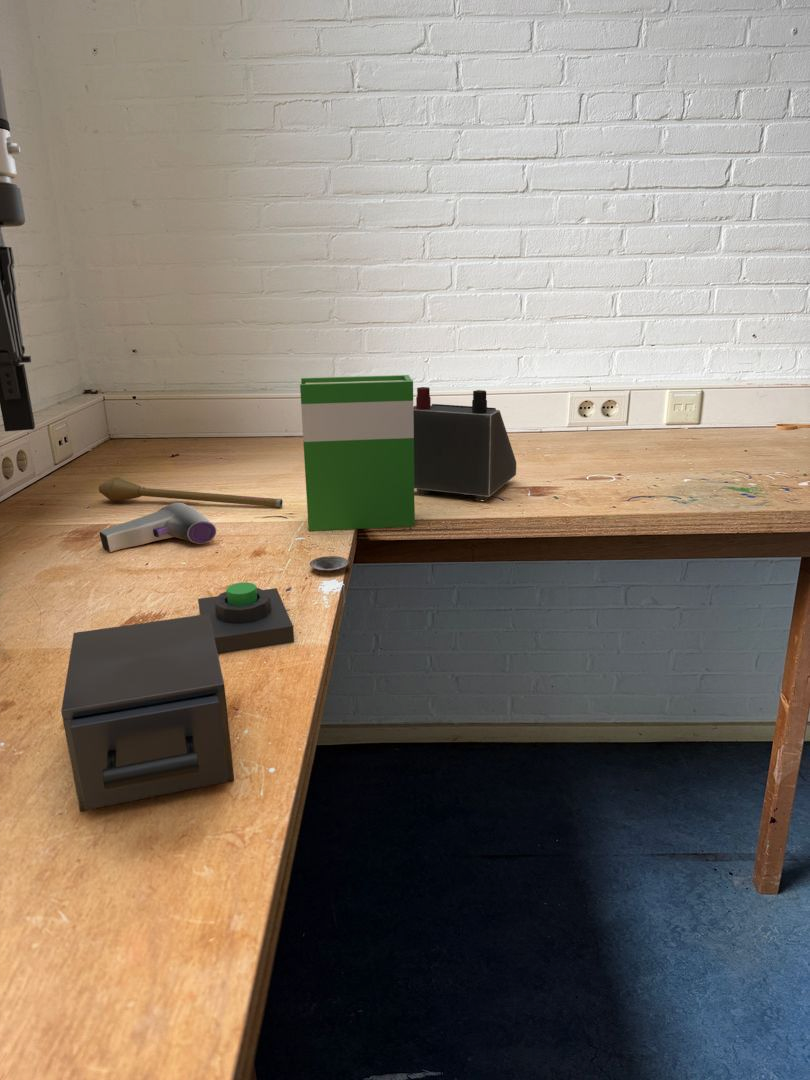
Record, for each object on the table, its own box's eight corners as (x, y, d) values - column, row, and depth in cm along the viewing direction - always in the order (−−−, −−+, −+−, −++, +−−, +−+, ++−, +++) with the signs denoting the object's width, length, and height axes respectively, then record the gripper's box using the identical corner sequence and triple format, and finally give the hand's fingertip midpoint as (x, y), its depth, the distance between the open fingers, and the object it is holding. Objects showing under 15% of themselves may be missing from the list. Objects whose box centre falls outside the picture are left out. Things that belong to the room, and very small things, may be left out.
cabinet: (234, 780, 69) (224, 683, 66) (79, 812, 66) (60, 710, 62) (218, 697, 82) (209, 613, 79) (88, 720, 79) (73, 632, 76)
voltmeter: (516, 481, 158) (519, 379, 151) (489, 504, 144) (491, 393, 138) (441, 473, 165) (441, 376, 158) (408, 494, 151) (406, 388, 144)
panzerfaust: (277, 492, 141) (285, 488, 146) (93, 478, 146) (106, 473, 151) (277, 518, 143) (285, 513, 147) (94, 503, 148) (108, 498, 152)
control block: (199, 614, 102) (196, 585, 100) (277, 603, 105) (275, 575, 103) (207, 656, 91) (204, 624, 90) (294, 642, 94) (292, 611, 92)
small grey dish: (321, 580, 112) (320, 572, 111) (304, 568, 116) (303, 561, 116) (355, 572, 114) (355, 564, 114) (337, 560, 119) (337, 553, 118)
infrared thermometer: (101, 551, 127) (187, 524, 136) (131, 572, 118) (222, 542, 127) (95, 524, 125) (183, 499, 134) (125, 543, 116) (217, 515, 125)
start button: (225, 597, 98) (224, 584, 97) (255, 593, 99) (254, 580, 98) (229, 609, 94) (227, 595, 94) (259, 604, 96) (258, 591, 95)
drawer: (233, 813, 64) (224, 729, 61) (82, 845, 61) (65, 758, 58) (213, 702, 80) (205, 632, 77) (92, 723, 77) (80, 650, 74)
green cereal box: (308, 530, 132) (300, 384, 124) (309, 517, 139) (301, 377, 131) (414, 526, 133) (413, 381, 125) (410, 512, 140) (408, 374, 132)
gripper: (9, 175, 70) (53, 438, 78) (26, 187, 82) (63, 415, 90) (-87, 174, 68) (-32, 445, 76) (-55, 186, 80) (-10, 420, 88)
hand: (20, 428), depth 83 cm, fingers closed
